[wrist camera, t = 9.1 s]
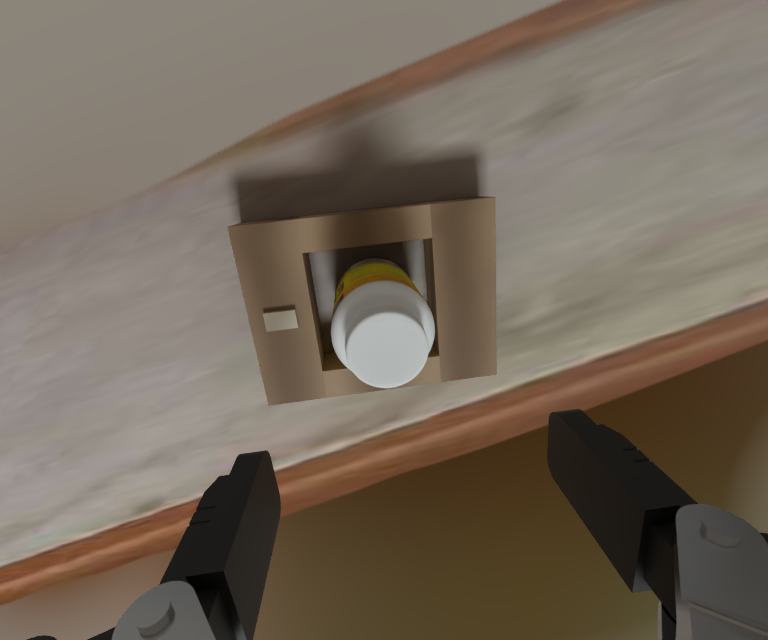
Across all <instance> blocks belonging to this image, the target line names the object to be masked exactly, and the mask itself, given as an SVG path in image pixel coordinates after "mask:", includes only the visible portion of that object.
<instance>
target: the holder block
mask: <svg viewBox="0 0 768 640" xmlns="http://www.w3.org/2000/svg"><path fill="white" fill-rule="evenodd" d="M228 231H229V236H230V240H231V244H232V249H233V253H234V257H235V262H236V266H237V270H238V275H239V279H240V283H241V288H242V292H243V296H244V301H245V305H246V309H247V314H248V318H249V322H250V327H251V331H252V335H253V340H254V344H255V348H256V353H257V357H258V361H259V366H260V370H261V374H262V379H263V383H264V387H265V392H266V396H267V400H268V405H276V404H283V403H291V402H298V401H305V400H313V399H320V398H327V397H335V396H342V395H349V394H357V393H364V392H371V391H379V390H386V389H393V388H401V387H408V386H415V385H423V384H430V383H437V382H445V381H452V380H459V379H467V378H474V377H481V376H489V375H496V374H497V364H496V233H495V197H481V196H479V197H470V198H461V199H452V200H443V201H434V202H425V203H416V204H407V205H398V206H389V207H380V208H371V209H362V210H353V211H344V212H335V213H326V214H317V215H308V216H299V217H290V218H281V219H272V220H263V221H254V222H245V223H239V224H236V225H233V226H229V227H228ZM419 239H424V253H425V268H426V283H427V297H428V306H429V308H430V310H431V312H432V315H433V319H434V324H435V336H434V341H433V345H432V348H431V350H430V352H429V354H428V357H427V361H426V363H425V365H424V367H423V368H422V370H421V371H420V372H419V374H418V375H417V376H416V377H415V378H413V379H412V380H411V381H409V382H407V383H405V384H403V385H401V386H398V387H393V388H379V387H374V386H371V385H368V384H366V383H365V382H363V381H361V380H360V379H359V378H358V377H357V376H356V375H355V374H354V373H353V372H352V371H351V370H349V369H348V368H347V367H346V366H345V365H344V364H343V363H342V362H341V360H340V359H339V358H338V356H337V354H336V352H335V353H327V354H325V351H324V345H323V339H322V333H321V327H320V321H319V315H318V309H317V303H316V297H315V291H314V285H313V279H312V273H311V267H310V261H309V255H308V252H316V251H325V250H333V249H342V248H351V247H359V246H368V245H376V244H385V243H394V242H402V241H411V240H419Z"/></svg>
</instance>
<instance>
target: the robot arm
mask: <svg viewBox="0 0 768 640" xmlns="http://www.w3.org/2000/svg"><path fill="white" fill-rule="evenodd" d="M547 460H548V466H549V469H550V472H551V475H552V477H553V479H554V480H555V482H556V484H557V485H558V486H559V488H560V489H561V491H562V492H563V494H564V495H565V496H566V498H567V499H568V501H569V502H570V504H571V505H572V507H573V508H574V509H575V511H576V512H577V514H578V515H579V517H580V518H581V520H582V521H583V523H584V524H585V525H586V527H587V528H588V530H589V531H590V533H591V534H592V536H593V537H594V538H595V540H596V541H597V543H598V544H599V546H600V547H601V549H602V550H603V551H604V553H605V554H606V556H607V557H608V559H609V560H610V562H611V563H612V564H613V566H614V567H615V569H616V570H617V572H618V573H619V575H620V576H621V577H622V579H623V580H624V582H625V583H626V585H627V586H628V588H629V589H630V590H631V592H632V593H635V592H642V591H648V590H652V591H653V592H654V593H655V594H656V596H657V597H658V599H659V600H660V602H659V606H658V639H659V640H768V534H766V533H759V532H758V530H756V529H755V528H754V527H753V526H752V525H750V524H749V523H748V522H746V521H745V520H743V519H742V518H740V517H738V516H736V515H734V514H733V513H731V512H728V511H726V510H723V509H720V508H717V507H714V506H709V505H703V504H698V503H697V502H696V501H694V500H693V499H692V498H691V497H690V496H689V495H688V494H687V493H686V492H685V491H684V490H683V489H681V488H680V487H679V486H678V485H677V484H676V483H675V482H674V481H673V480H671V479H670V478H669V477H668V476H667V475H666V474H665V473H664V472H663V471H662V470H661V469H659V468H658V467H657V466H656V465H655V464H654V463H653V462H650V461H649V459H648V458H647V457H646V456H645V455H644V454H643V453H642V452H641V451H640V450H637V448H636V447H635V446H634V445H633V444H632V443H631V442H630V441H629V440H628V439H627V438H625V437H624V436H623V435H622V434H620V433H618V432H616V431H614V430H613V429H611V428H609V427H607V426H605V425H603V424H600V425H596V424H595V423H594V422H593V421H592V420H591V419H590V418H589V417H588V416H587V415H586V414H585V413H584V412H583V411H582V410H580V409H573V410H566V411H559V412H552V413H551V414H550V416H549V426H548V449H547ZM196 509H197V511H196V512H195V513H194V515H193V517H192V519H191V521H190V523H189V524H190V525H189V527H187V529H186V531H185V533H184V535H183V537H182V539H181V541H180V543H179V545H178V547H177V549H176V551H175V553H174V556H173V558H172V560H171V562H170V564H169V566H168V568H167V570H166V572H165V574H164V576H163V578H162V580H161V582H160V584H159V585H158V586H156V587H154V588H152V589H151V590H149V591H147V592H146V593H144V594H143V595H142V596H140V597H139V598H138V599H137V600H136V601H135V602H134V603H132V605H131V606H130V607H129V608H128V609H127V610H126V611H125V612H124V614H123V615H122V617H121V618H120V620H119V621H118V623H117V625H116V627H114V628H112V629H110V630H108V631H106V632H104V633H102V634H99V635H97V636H94V637H92V638H90V639H88V640H253V636H254V632H255V627H256V623H257V618H258V614H259V609H260V605H261V600H262V596H263V591H264V587H265V582H266V578H267V573H268V569H269V564H270V560H271V555H272V551H273V546H274V542H275V537H276V533H277V528H278V524H279V519H280V511H281V502H280V494H279V490H278V486H277V481H276V477H275V473H274V469H273V465H272V461H271V457H270V454H269V452H268V451H259V452H252V453H245V454H239V455H238V456H237V458H236V461H235V463H234V465H233V468H232V470H231V472H230V475H225V476H219V477H218V478H217V479H216V480H215V482H214V483H213V484H212V485H211V486H210V487H209V488H208V489H207V490H206V491H205V492H204V494H203V496H202V498H201V500H200V502H199V504H198V506H197V508H196ZM27 640H56V639H55V638H54V637H51V636H37V637H34V638H30V639H27Z"/></svg>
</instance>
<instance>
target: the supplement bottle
mask: <svg viewBox="0 0 768 640" xmlns="http://www.w3.org/2000/svg"><path fill="white" fill-rule="evenodd" d="M434 336H435V324H434V319H433V315H432V312H431V310H430V308H429V306H428V304H427V303H426V301H425V300H424V298H423V297H422V296H421V294H420V293H419V291H418V290H417V288H416V287H415V285H414V284H413V282H412V281H411V280H410V278H409V277H408V275H407V274H406V273H405V271H404V270H403V269H402V268H401V267H399V266H398V265H397V264H395V263H393V262H391V261H389V260H385V259H380V258H370V259H365V260H362V261H359V262H357V263H355V264H354V265H352V266H351V267H349V268H348V269H347V270H346V271H345V272H344V274H343V275H342V276H341V278H340V280H339V282H338V285H337V288H336V293H335V300H334V308H333V316H332V323H331V338H332V344H333V347H334V350H335V352H336V354H337V356H338V358H339V359H340V360H341V362H342V363H343V364H344V365H345V366H346V367H347V368H348V369H349V370H351V371H352V372H353V373H354V374H355V375H356V376H357V377H358V378H359V379H360V380H361V381H363V382H365V383H366V384H368V385H371V386H374V387H379V388H393V387H398V386H401V385H403V384H405V383H407V382H409V381H411V380H412V379H413V378H415V377H416V376H417V375H418V374H419V372H420V371H421V370H422V368H423V367H424V365H425V363H426V361H427V357H428V354H429V352H430V350H431V348H432V345H433V341H434Z"/></svg>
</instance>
